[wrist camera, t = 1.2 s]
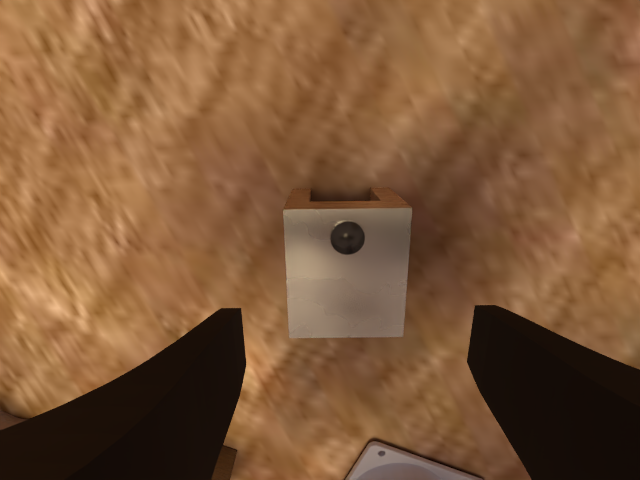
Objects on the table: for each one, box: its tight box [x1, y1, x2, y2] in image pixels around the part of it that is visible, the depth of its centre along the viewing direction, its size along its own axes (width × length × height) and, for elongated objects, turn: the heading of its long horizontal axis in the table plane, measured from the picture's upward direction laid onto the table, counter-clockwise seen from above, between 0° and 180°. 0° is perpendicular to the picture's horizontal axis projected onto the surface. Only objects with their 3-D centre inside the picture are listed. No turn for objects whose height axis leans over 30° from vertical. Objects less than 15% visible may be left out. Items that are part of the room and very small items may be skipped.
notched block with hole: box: [283, 188, 412, 338], centre depth 17 cm, size 5×6×5 cm
